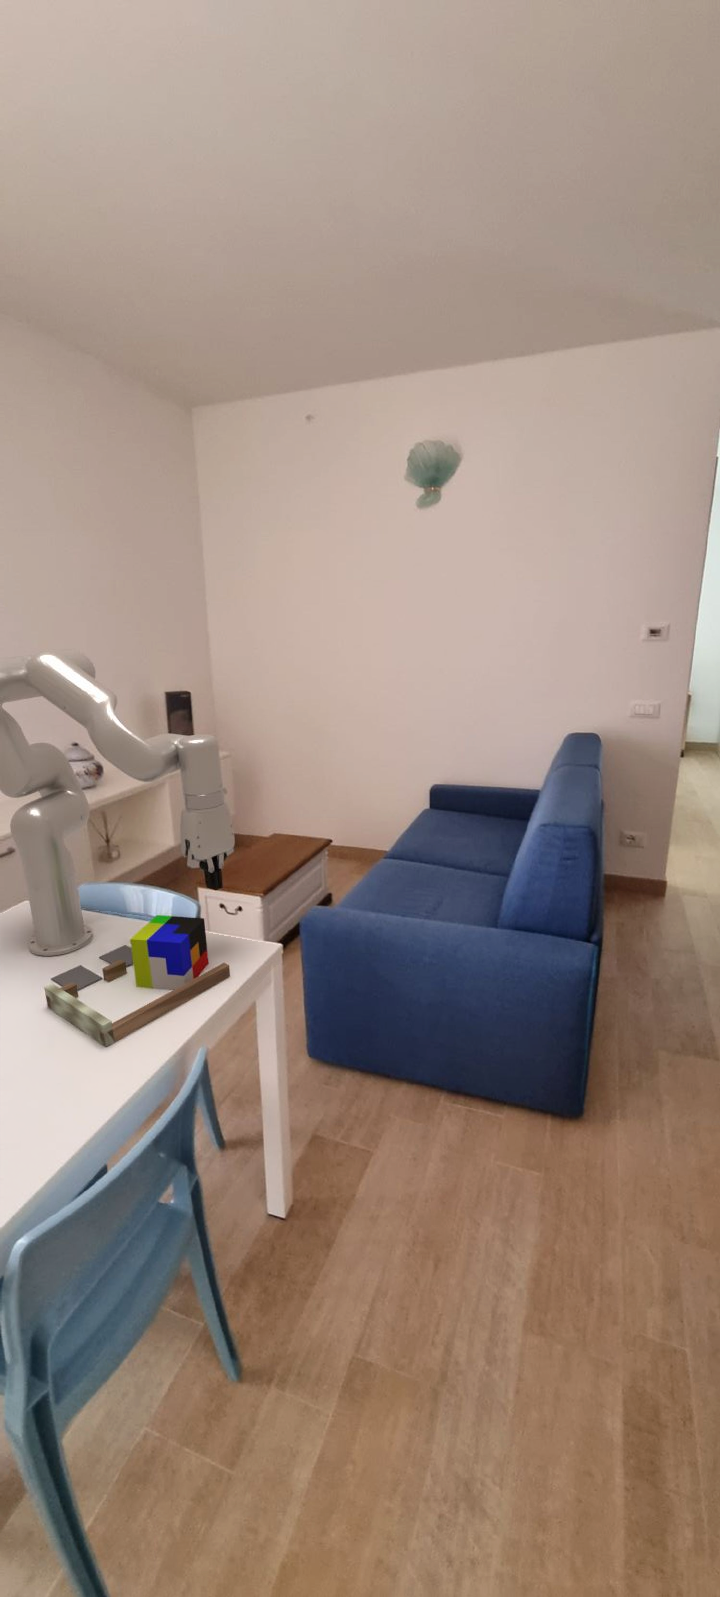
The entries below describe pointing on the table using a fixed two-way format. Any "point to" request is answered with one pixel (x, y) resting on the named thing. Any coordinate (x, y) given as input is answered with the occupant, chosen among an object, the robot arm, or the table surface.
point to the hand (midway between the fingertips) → (214, 887)
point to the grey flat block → (77, 977)
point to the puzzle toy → (169, 952)
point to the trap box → (111, 1032)
